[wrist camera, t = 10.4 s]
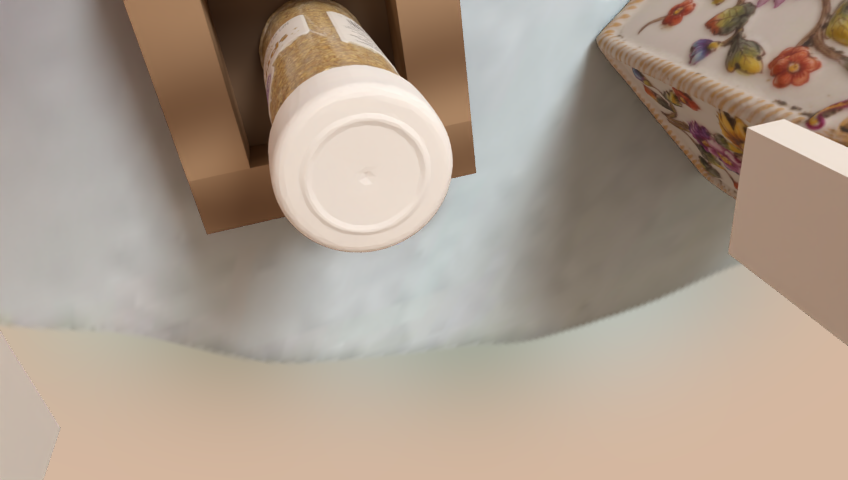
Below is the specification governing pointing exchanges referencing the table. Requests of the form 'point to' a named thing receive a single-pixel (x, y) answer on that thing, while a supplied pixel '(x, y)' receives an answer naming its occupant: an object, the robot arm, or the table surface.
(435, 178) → the sprinkles bottle
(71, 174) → the table surface
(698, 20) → the decorative jar
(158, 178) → the table surface
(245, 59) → the socket board
